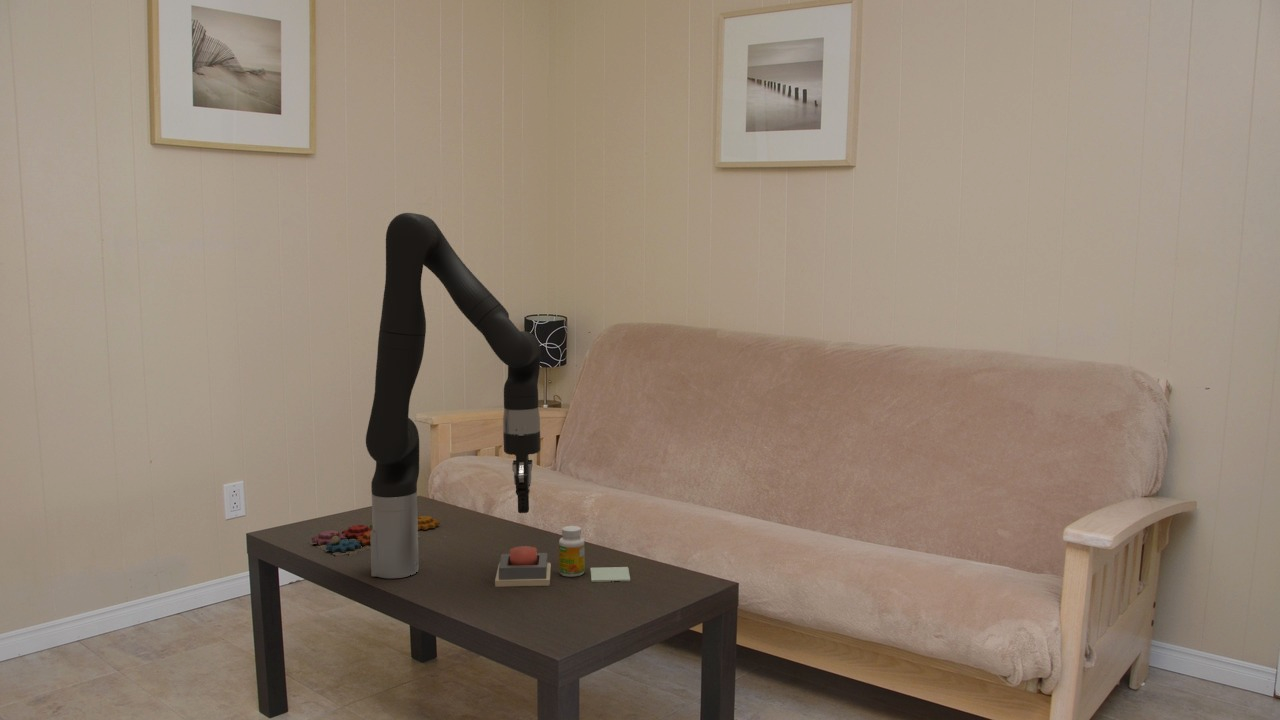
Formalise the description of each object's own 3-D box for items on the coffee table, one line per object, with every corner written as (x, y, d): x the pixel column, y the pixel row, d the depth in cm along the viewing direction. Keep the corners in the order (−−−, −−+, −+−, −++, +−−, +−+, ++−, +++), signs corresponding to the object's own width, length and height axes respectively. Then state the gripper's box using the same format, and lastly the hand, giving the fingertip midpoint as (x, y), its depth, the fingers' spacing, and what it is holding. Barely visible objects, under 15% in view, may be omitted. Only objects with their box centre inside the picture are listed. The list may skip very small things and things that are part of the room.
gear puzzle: (423, 520, 245) (422, 504, 245) (457, 533, 233) (457, 517, 233) (305, 545, 224) (305, 527, 223) (337, 561, 212) (336, 543, 212)
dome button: (509, 568, 197) (508, 554, 196) (510, 560, 202) (510, 546, 202) (536, 568, 197) (536, 553, 197) (537, 559, 202) (537, 545, 202)
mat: (591, 582, 197) (591, 580, 197) (590, 569, 205) (590, 567, 205) (630, 581, 197) (630, 579, 197) (627, 568, 205) (627, 567, 205)
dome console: (495, 586, 194) (494, 569, 194) (499, 569, 205) (498, 552, 204) (549, 585, 195) (549, 568, 194) (550, 568, 206) (550, 551, 205)
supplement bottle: (554, 575, 201) (554, 530, 200) (566, 567, 206) (565, 523, 205) (577, 578, 199) (577, 532, 198) (588, 570, 204) (588, 526, 203)
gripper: (505, 424, 203) (507, 504, 205) (501, 435, 190) (503, 521, 192) (541, 423, 203) (542, 503, 205) (539, 434, 190) (540, 520, 192)
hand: (523, 512), depth 198 cm, fingers closed
